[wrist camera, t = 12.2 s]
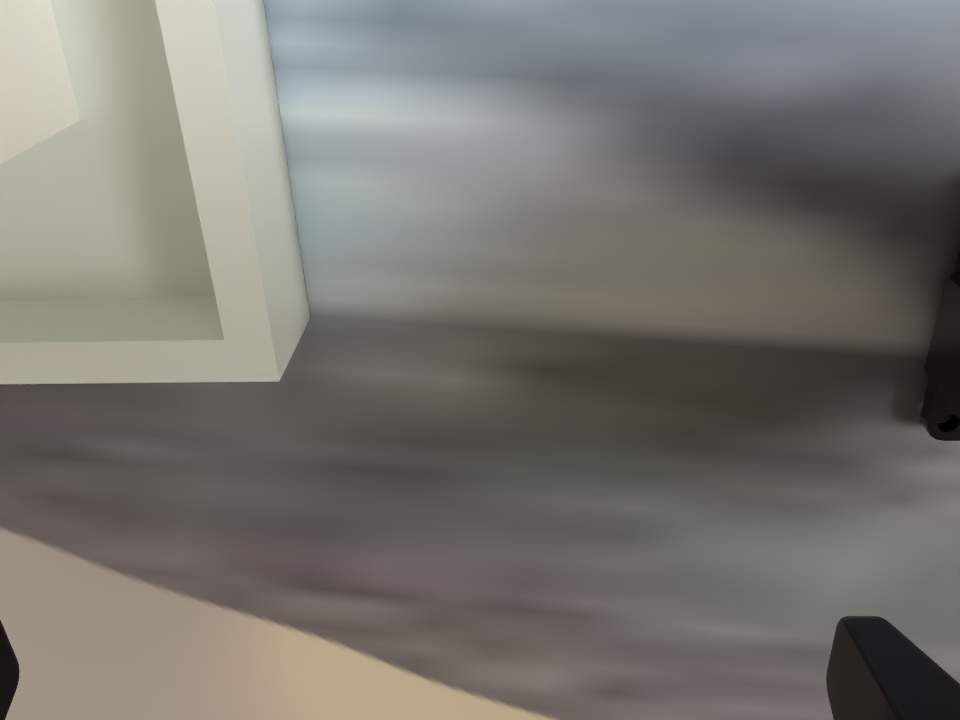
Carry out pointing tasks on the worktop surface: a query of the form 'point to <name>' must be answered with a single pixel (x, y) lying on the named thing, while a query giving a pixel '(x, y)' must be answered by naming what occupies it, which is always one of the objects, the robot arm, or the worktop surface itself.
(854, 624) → the robot arm
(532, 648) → the worktop surface
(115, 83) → the tray
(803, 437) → the worktop surface
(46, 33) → the cream block
